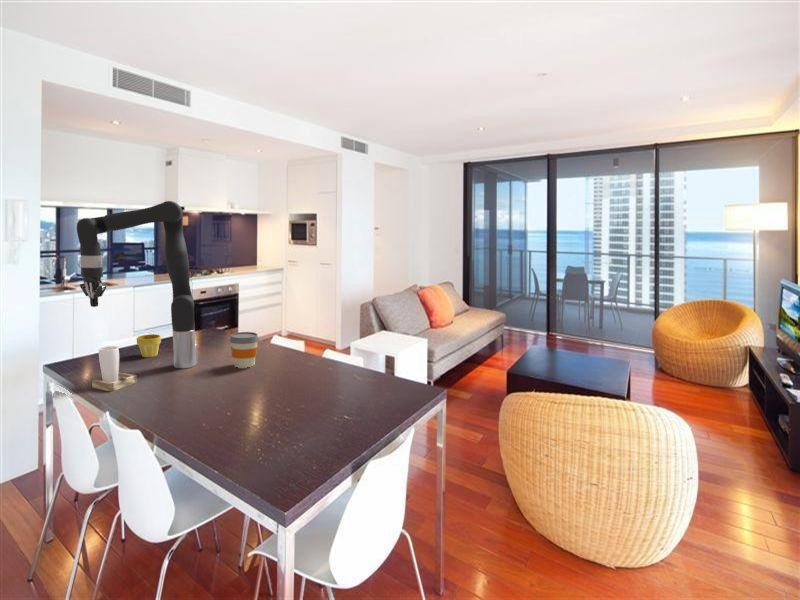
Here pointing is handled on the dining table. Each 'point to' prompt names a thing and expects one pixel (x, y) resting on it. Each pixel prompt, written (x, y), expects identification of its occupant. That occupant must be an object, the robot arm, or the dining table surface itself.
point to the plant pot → (149, 344)
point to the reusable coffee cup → (244, 348)
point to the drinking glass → (109, 363)
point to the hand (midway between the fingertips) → (94, 306)
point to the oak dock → (122, 382)
